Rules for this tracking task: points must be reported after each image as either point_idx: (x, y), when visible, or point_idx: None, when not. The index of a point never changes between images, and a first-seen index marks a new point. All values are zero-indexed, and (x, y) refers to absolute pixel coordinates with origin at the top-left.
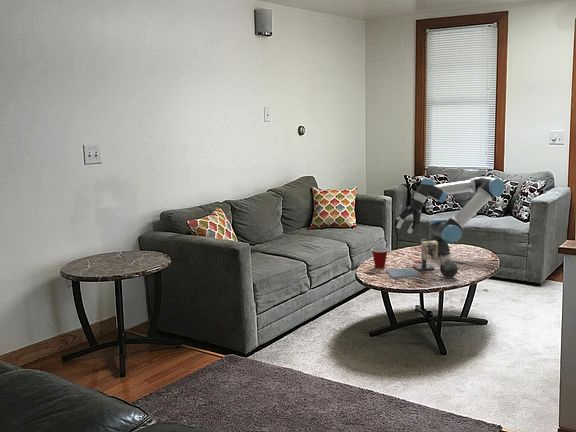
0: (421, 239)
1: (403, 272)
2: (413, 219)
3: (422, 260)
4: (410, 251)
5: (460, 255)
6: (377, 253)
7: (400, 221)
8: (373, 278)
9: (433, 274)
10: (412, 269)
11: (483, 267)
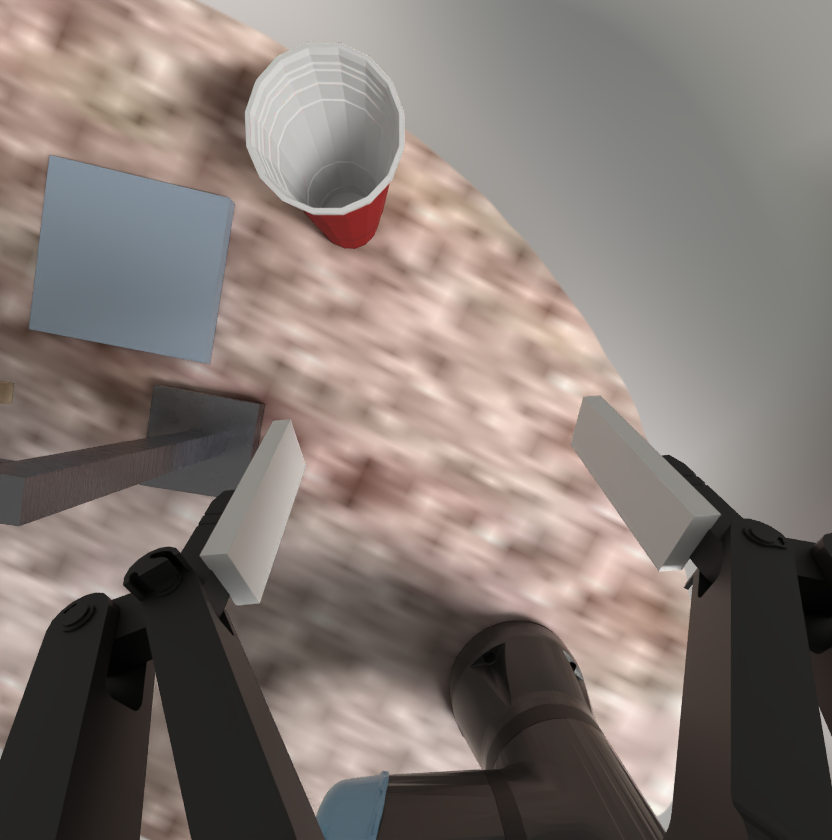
0: (21, 475)
1: (126, 269)
2: (194, 657)
3: (161, 435)
4: (610, 554)
5: (402, 758)
6: (280, 97)
7: (645, 481)
8: (107, 51)
9: (61, 431)
10: (175, 354)
11: None
